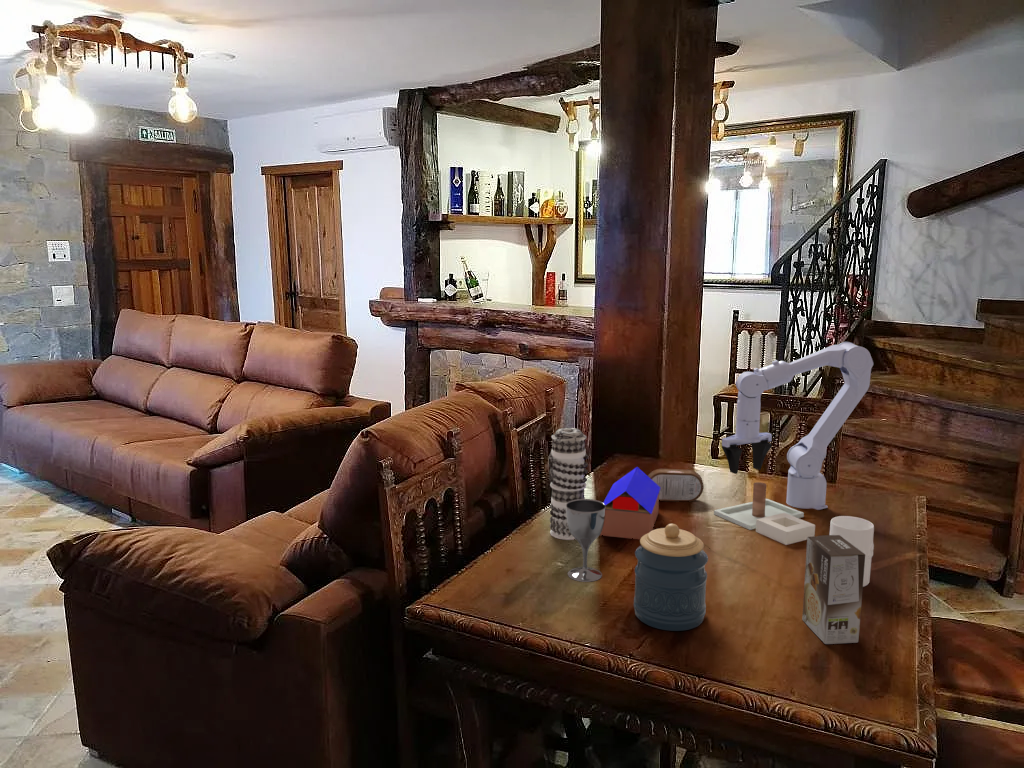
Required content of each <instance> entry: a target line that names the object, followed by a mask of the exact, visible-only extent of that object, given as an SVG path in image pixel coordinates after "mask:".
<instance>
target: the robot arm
mask: <svg viewBox="0 0 1024 768" xmlns="http://www.w3.org/2000/svg"><path fill="white" fill-rule="evenodd" d="M826 366H829V367H835V368H839V370H840V371H841V374H842V377H843V381H844V384H843V385H842V386H841V388H840V389H839V391H838V392H837V394H836V395H835V396H834V398H833V399H832V400H831V402H830V403H829V405H828V406H827V408H826V409H825V411H824V412H823V413H822V415H821V416H820V418H819V419H818V420H817V422H816V423H815V424H814V426H813V428H812V429H811V431H810V432H809V433H808V434H807V435H805V436H803V437H802V438H800V440H799V441H798V443H796V444H794V445H793V446H790V448H789V449H788V451H787V453H786V460H787V462H788V464H789V465H790V467H789V469H788V470H787V472H788V474H787V486H786V501H785V503H786V504H787V506H789V507H792V508H798V509H805V510H806V509H814V510H817V511H820V510H823V509H824V510H825V509H828V505H827V504H826V499H827V495H826V494H827V486H828V485H827V480H826V477H825V475H823V474H822V473H821V470H822V466H823V462H824V460H825V458H826V456H827V447H828V446H829V444H830V443H831V442H832V441H833V439H834V437H836V434H838V432H839V430H840V429H841V428H842V426H843V425H844V424H845V422H846V421H847V419H848V418H849V416H850V415H851V414H852V412H853V411H854V409H856V407H857V405H858V404H859V403H860V401H862V399H863V397H864V396H865V394H866V393H867V392H868V391H869V388H870V383H871V373H872V368H873V366H874V360H873V358H872V356H871V353H870V351H869V350H868V349H867V348H865V347H863V346H860V345H856V344H855V343H853V342H850V341H843V342H841V343H839V344H833V345H830V346H827V347H825V348H822V349H821V350H818V351H815V352H813V353H811V354H807V355H805V356H804V357H801V358H798V359H795V360H793V361H790V362H787V361H784V360H780V361H779V360H777V359H775V360H772V361H771V364H768V365H766V366H763V367H760V368H758V367H755V368H753V371H744V372H742V373H740V374H739V376H738V377H737V379H736V381H735V387H736V389H737V390H738V392H737V400H736V401H737V402H736V417H735V418H736V421H735V422H736V423H735V434H733V435H730V436H727V437H724V438H721V448H722V451H723V452H724V455H725V457H726V459H727V463H728V468H729V472H730V473H732V474H735V475H736V474H737V475H738V474H739V472H738V471H739V463H740V460H741V459H740V458H741V455H742V453H743V449H742V448H739V446H741V445H745V444H750V445H751V449H752V450H751V451H752V467H753V469H755V470H757V471H761V469H762V466H763V463H764V460H765V459H766V456H767V455H768V452H770V450H771V448H772V446H773V445H772V443H771V442H772V437H773V436H772V433H770V432H760V424H761V403H762V402H761V398H762V397H761V396H762V394H763V393H764V392H765V391H768V390H771V389H775V388H776V387H780V386H782V385H785V384H788V383H791V382H792V381H793V378H794V376H796V375H798V374H802V373H806V372H808V371H809V372H810V371H812V370H814V369H815V370H817V369H819V368H821V367H826Z"/></svg>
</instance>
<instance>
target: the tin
mask: <svg viewBox="0 0 1024 768" xmlns="http://www.w3.org/2000/svg"><path fill="white" fill-rule="evenodd" d="M647 476H648V477H649V478H650V479H652V480H653V481H654V482H655V483H656V484H657V485H658V486H659V487H660V492H659V500H660V502H679V501H689V502H688V503H690V502H694V501H697V500H698V499H699V498H700V497H701V496H702V494H703V492H704V487H705V486H704V482H703V481H704V480H703V479H702V477H701V475H700V474H699V473H698V472H697V471H694V470H693V469H678V468H677V469H675V468H657V469H654V470H653V471H651V472H650V473H649V474H648V475H647Z"/></svg>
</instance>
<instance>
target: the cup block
mask: <svg viewBox="0 0 1024 768" xmlns="http://www.w3.org/2000/svg"><path fill="white" fill-rule="evenodd" d="M815 532H816V524H814V523H812V522H809V521H808V520H807V521H806V520H804V519H801V518H796V517H794V516H791V515H789V514H786V513H781V514H777V515H773V516H768V517H764V518H760V519H757V520H756V529H755V533H758V534H760V535H762V536H764V537H767V538H769V539H771V540H774V541H775V542H778V543H781V544H783V545H785V546H787V545H791V544H795V543H799V542H803V541H807V537H815V534H816V533H815Z"/></svg>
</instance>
